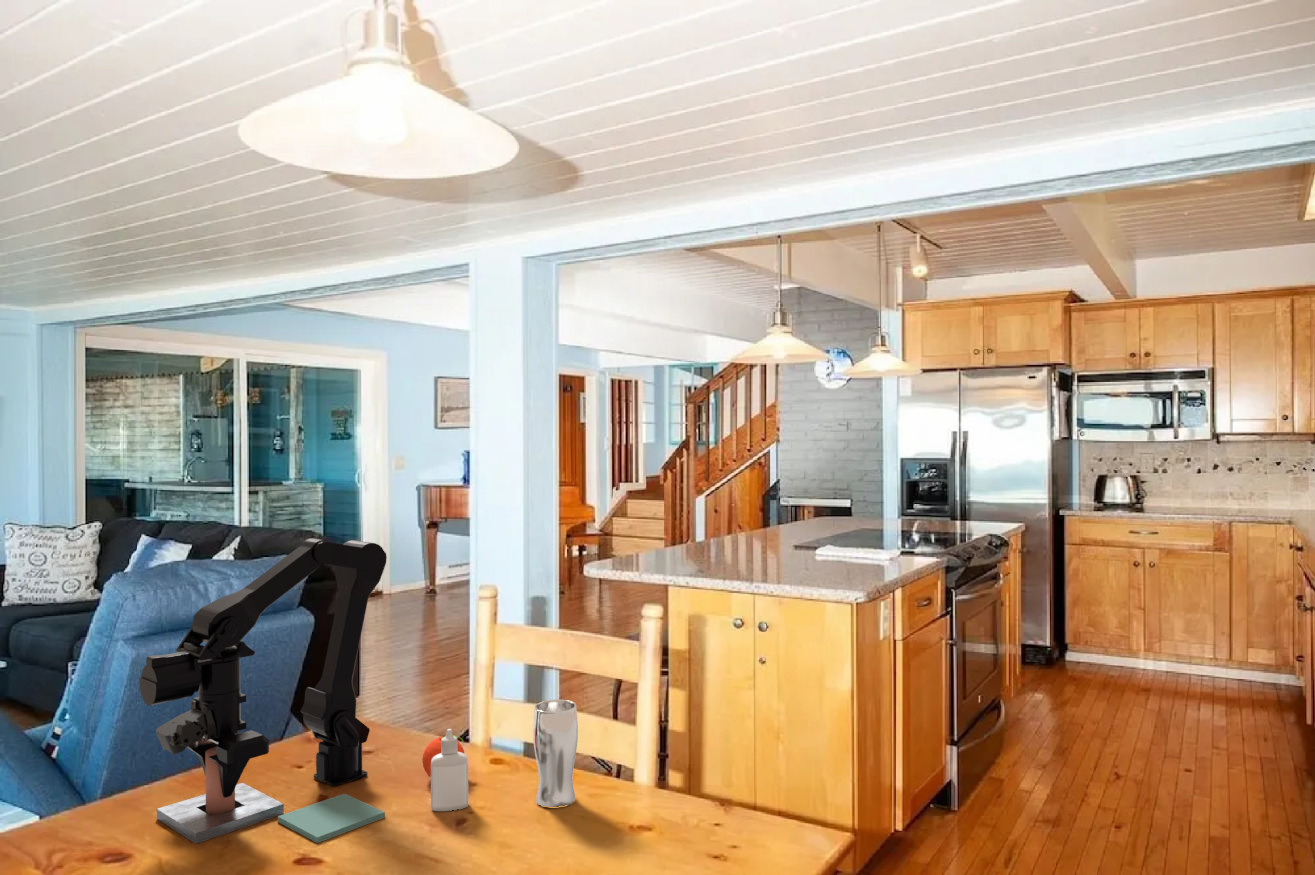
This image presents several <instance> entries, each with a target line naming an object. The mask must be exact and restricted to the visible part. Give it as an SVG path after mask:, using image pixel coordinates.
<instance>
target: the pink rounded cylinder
mask: <svg viewBox="0 0 1315 875" xmlns="http://www.w3.org/2000/svg"><path fill="white" fill-rule="evenodd" d="M213 755H217V754H216V747H214V748H211V749H208V750H207V751H206V752H205V774H206V777H205V794H206V813H207V814H208V815H210V816H214V815H217V814H220V813H223V812H226V811H229V810H232V809H235V789H234V791H233V793H232V795H231V796H229V797H226V798H224V797H223V794H222V789H221V782H220V775H219V768H218V765H217V764H216V763H215V762H213V761H212V760H211V759H209V756H213ZM205 774H204V775H205Z"/></svg>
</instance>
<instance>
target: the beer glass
mask: <svg viewBox="0 0 1315 875" xmlns="http://www.w3.org/2000/svg"><path fill="white" fill-rule="evenodd" d="M577 711H578V710H577V704H576V702H574V701H572V700H567V699H548V700H543V701H540V702H538V703H536V704H535V705H534V715H533V723H532V724H533V727H532V734H533V735H532V737H533V738H532V739H533V741H532V742H533V747H534V748H533V749H534V754H535V761H536V766H537V773H538V787H537V792H536V799H535V800H536V801H535V802H536V804H537V805H538V806H539V805H541V806H547V807H559V806H565V805H570V804H571V803H573V802H574V801H576V793H575V788H574V783H573V782H574V781H573V780H574V779H573V776H574V769H575V768H574V766H575V760H576V757H577V756H576V755H577V748H578V741H579V740H578V739H579V724H578V712H577ZM574 803H575V802H574ZM574 803H573V804H574ZM541 806H540V807H541ZM570 806H571V805H570Z"/></svg>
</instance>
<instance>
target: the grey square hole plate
mask: <svg viewBox="0 0 1315 875" xmlns="http://www.w3.org/2000/svg"><path fill="white" fill-rule="evenodd" d="M284 805H285V804H284V803H282V802H280V801H279V800H277V799H275V798H273V797H271V796H269V795H267V794H266V793H263V792H261V791H260V790H258V789H256V788H253V787H251V786H250V785H247V784H246V783H244V782H239V783H237V785H236V787H235V809H232V810H229V811H226V812H223V813H220V814H217V815H214V816H210V815H208V814H207V813H206V793H204V794H201V795H198V796H194V797H192V798H188V799H184V800H181V801H179V802H174V803H172V804H171V803H170V804H168V805H165V806H162V807H158V808H156V819H157V820H158V821H160V822H161V823H163V824H164V825H166V826H167V827H169V828H170V829H173V830H174V831H175V832H176V833H179V834H180V835H181V836H183V837H185V838H186V839H187V840H190V841H191V842H192V843H194V844H195V845H196V844H199V843H202V842H205V841H208V840H211V839H215V838H217V837H220V836H222V835H226V834H229V833H232V832H234V831H238V830H241V829H243V828H247V827H249V826H252V825H254V824H255V825H256V824H258V823H261V822H263V821H266V820H270V819H273V818H276V817H278V816H280V815H283V814H285V813H284V812H285V806H284Z"/></svg>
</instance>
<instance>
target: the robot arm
mask: <svg viewBox="0 0 1315 875" xmlns="http://www.w3.org/2000/svg"><path fill="white" fill-rule="evenodd" d="M387 558H388V557H387V553H386V552H385V550H384V548H383V547H382V546H381V545H379V544H378V543H375V542H369V541H362V540H348V541H345V542H344V543H343V544H341V543H335V542H330V541H328V540H324V539H320V538H314V537H312V538H307V539H305V540H304V541H303V542H302V543H301V544H300V545H299V546H298V547H297V548H296V549H295V550H293V551H292V552H290V553H289V554H287V555H286V556H285V557H283V558H282V559H281V560H280V561H279V562H277V563H275V564H274V565H273V566H271V567H270V568H268V570H266V571H265V572H264V573H262V574H261V575H259V576H258V577H257V578H255V579H254V580H253V581H252V582H250V583H249V584H247V585H246V586H245V587H243V588H242V589H240V590H238V591H236V592H233V593H230V594H227V595H224V596H222V597H220V598H218V599H215V600H214V601H212V602H210V603H207V604H206V605H204V606H202V607H200V609H198V611H197V612H196V613H195V614H194V616H193V619H192V624H191V627H190V629H189V630H188V632H187V633H186V634H185V636H184V638H182V641H181V642H180V643H179V645H178V646H177V647H176V652H173V653H166V654H162V655H160V654H155V655H149V656H147V657H146V658H145V659H146V660H145V661H146V662H145V664H146V665H144V667H143V668H142V670H141V675H140V677H139V689H140V695H141V697H142V700H143V702H144V704H145V705H147V707H148V706H150V707H151V706H154V705H160V704H164V703H169V702H173V701H176V700H177V701H178V700H181V699H186V698H191V697H193V695H194V694H195V693H198V696H196V697H193V698H192V700H191V703H190V704H191V705H190V707H191V708H190V709H189V710H188V711H186V712H184V713H180V714H179V715H177V716H175V717H174V718H172V719H170V720H169V721H167V722H165V723H163V724H162V725H160V726H158V727H157V728H156V729H155V733H156V736H157V738H158V740H159V743H160V745H161V746H162V750H164V751H167V752H169V753H170V754H171V755H177V754H180V753H182V752H184V751H185V750H186V748H187V749H189V750H190V751H191V752H193V753H194V754H196V755H197V756H198V759H199V761H200V765H201V768H202V771H203V773H204V778H206V774H205V752H206V751H207V750H208V749H211V748H214V747H216V754H217V755H213V756H209V759H211V760H212V761H213V762H215V763H216V764H217V765H218V768H219V775H220V782H221V789H222V794H223V797H224V798H226V797H229V796H231V795H232V793H233V791H234V789H235V787H236V785H237V784H239V783H238V782H239V781H240V778H241V776H242V774H243V773H244V770H245V768H246V766H247V765H248V763H249V762H250V759H254V758H257V757H260V756H265V755H267V754H268V753H269V752H270V739H269V738H267V737H266V736H265V735H263V734H261V733H259V732H256V731H255V730H247V731H244V732H240V733H239V731H243V730H246V729H247V722H246V721H244V720H242V719H241V718H242V716H241V714H242V713H241V712H242V708H241V706H242V703H246V702H247V695H246V694H244V693H242V692H241V690H242V687H241V658H247V657H251V656H254V655H255V654H256V652H255V650H254V649H253V648H250V647H249V646H248V645H247V644H246V643H245V641H243V639H244V638H246V636H247V635H248V634H249V632H250V631H251V630H252V629H253V628H255V626H256V625H257V622H258V620H259V619H260V616H261V615H262V614H263V613H264V612H265V610H266V609H268V608H269V607H270V606H271V605H273V604H275V602H277V601H278V600H279V599H280V598H282V597H283V596H284V595H286V594H287V593H288V592H290V590H292V589H294V587H296V586H297V585H298V584H299V583H301V582H302V581H303V580H304V579H306V578H307V577H309V576H311V574H313V573H314V572H315V571H316V570H318V569H319V568H320V567H321V566H323V565H331V566H335V567H334V576H335V581H336V583H337V584H336V585H337V588H338V597H337V602H336V607H335V611H334V616H333V622H332V626H331V631H330V637H329V642H328V646H327V652H326V655H325V661H324V666H323V669H322V670H323V671H322V676H321V678H320V680H319V681H318V683H317V684H316V685H315V686H314V688H313V687H310V686H307V687H306V689H305V691H304V702H303V705H302V707H301V709H300V711H299V712H300V713H302V714H303V716H302V719H303V723H304V724H305V726H306V728H308V730H310V731H311V732H312V735H313V737H314V739H318V740H320V741H319V742H318V752H316V754H315V762H316V763H315V768H316V769H315V773H313V778H314V779H316V780H318V781H321V782H323V783H324V784H328V785H330V786H331V787H336V786H339V785H342V784H346V783H348V782H352V781H354V780H357V779H360V778H363V777H367V776H368V775H369V774H368V773H369V772H368V771H366V770H365V769H363V744H364V743H366V742H367V741H368V738H369V734H370V731H371V729H370V728H369V727H368V726H366V725H365V723H363V722H362V721H361V720H359V719H358V718H357V717H356V716H357V698H356V695H355V694H356V693H355V689H354V685H353V679H354V678H353V677H354V673H355V667H356V663H357V658H358V653H359V647H360V644H361V643H360V642H361V637H362V632H363V627H364V621H365V616H366V612H367V605H368V602H369V597H370V595H371V594H372V592H373V591H374V590H375V588H376V587H377V586H378V584H379V582H381V578H382V576H383V574H384V570H385V567H386V565H387ZM202 643H205V645H202Z"/></svg>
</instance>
